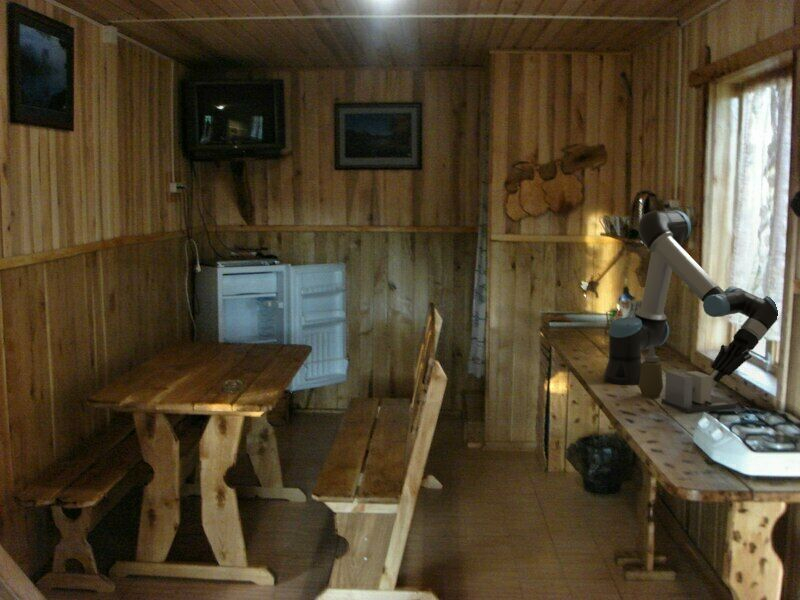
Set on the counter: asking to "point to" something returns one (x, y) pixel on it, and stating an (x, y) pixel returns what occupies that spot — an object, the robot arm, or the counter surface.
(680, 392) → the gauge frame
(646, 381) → the squeeze bottle
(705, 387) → the block
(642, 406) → the counter surface
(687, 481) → the counter surface
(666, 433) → the counter surface
